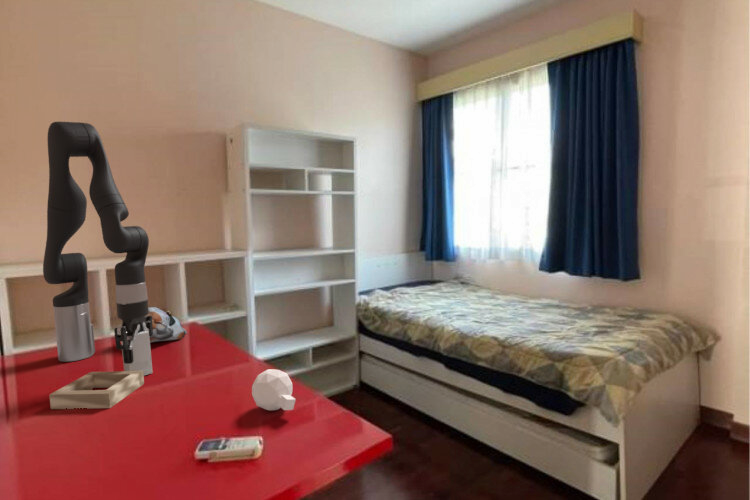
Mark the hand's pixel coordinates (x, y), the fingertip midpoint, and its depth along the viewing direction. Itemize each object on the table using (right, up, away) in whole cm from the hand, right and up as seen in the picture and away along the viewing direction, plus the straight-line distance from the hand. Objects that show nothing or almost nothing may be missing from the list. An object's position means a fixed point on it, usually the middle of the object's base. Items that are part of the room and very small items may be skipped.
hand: (137, 358), depth 118 cm
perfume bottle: (+44, -6, -23) cm, 50 cm away
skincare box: (0, -5, +1) cm, 5 cm away
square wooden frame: (-2, -6, -12) cm, 14 cm away
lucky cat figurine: (-10, -3, +34) cm, 35 cm away
